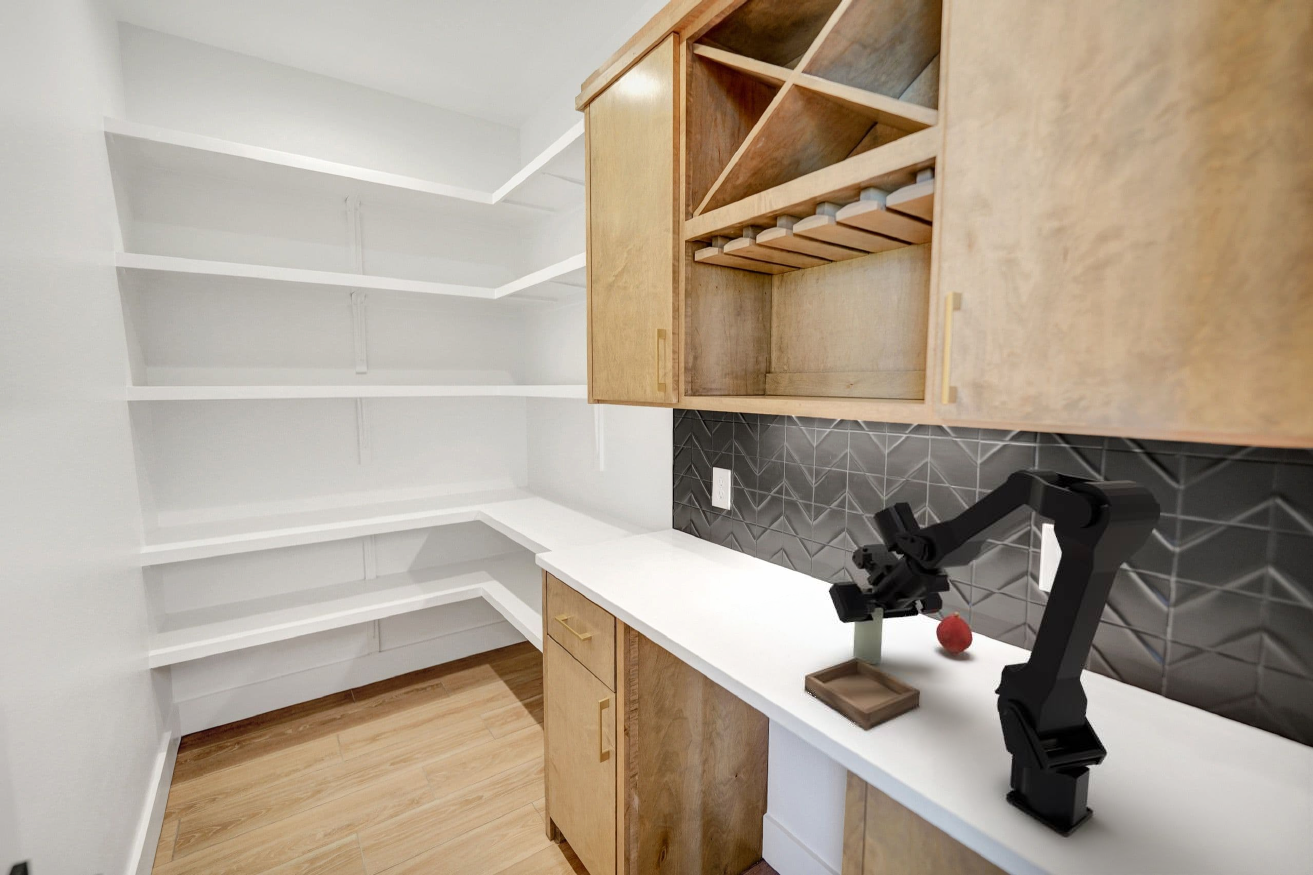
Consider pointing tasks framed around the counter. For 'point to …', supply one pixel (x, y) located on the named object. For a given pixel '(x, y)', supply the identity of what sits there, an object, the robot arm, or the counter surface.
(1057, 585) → the robot arm
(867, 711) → the walnut tray
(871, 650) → the spice jar
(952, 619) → the onion
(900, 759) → the counter surface
